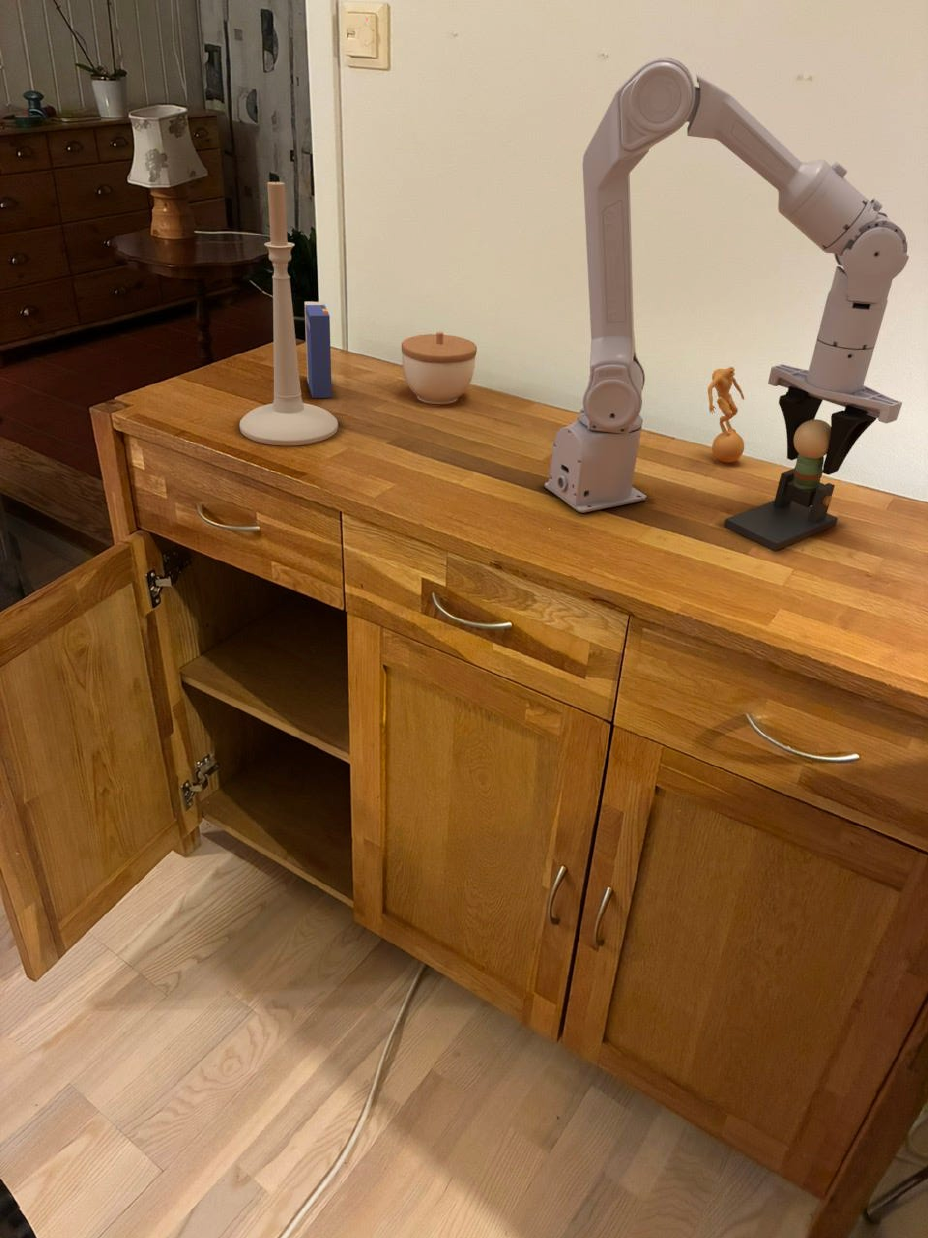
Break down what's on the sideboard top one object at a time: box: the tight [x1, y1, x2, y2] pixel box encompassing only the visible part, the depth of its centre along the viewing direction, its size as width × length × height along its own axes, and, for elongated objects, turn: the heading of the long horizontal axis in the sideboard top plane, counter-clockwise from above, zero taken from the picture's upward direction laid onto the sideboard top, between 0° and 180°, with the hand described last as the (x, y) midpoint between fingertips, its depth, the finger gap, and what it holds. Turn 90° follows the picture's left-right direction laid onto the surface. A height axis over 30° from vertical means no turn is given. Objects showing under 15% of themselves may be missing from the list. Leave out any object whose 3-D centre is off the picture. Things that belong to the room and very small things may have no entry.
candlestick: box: [239, 178, 339, 446], centre depth 113 cm, size 13×13×30 cm
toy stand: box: [723, 468, 839, 552], centre depth 102 cm, size 12×7×5 cm, turn 128°
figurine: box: [707, 366, 745, 464], centre depth 116 cm, size 8×6×12 cm
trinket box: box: [401, 331, 478, 405], centre depth 132 cm, size 11×11×9 cm
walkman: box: [304, 301, 333, 399], centre depth 132 cm, size 8×3×12 cm, turn 14°
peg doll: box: [785, 418, 831, 508], centre depth 101 cm, size 4×4×10 cm
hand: (812, 464), depth 102 cm, fingers closed on peg doll, 4 cm apart
